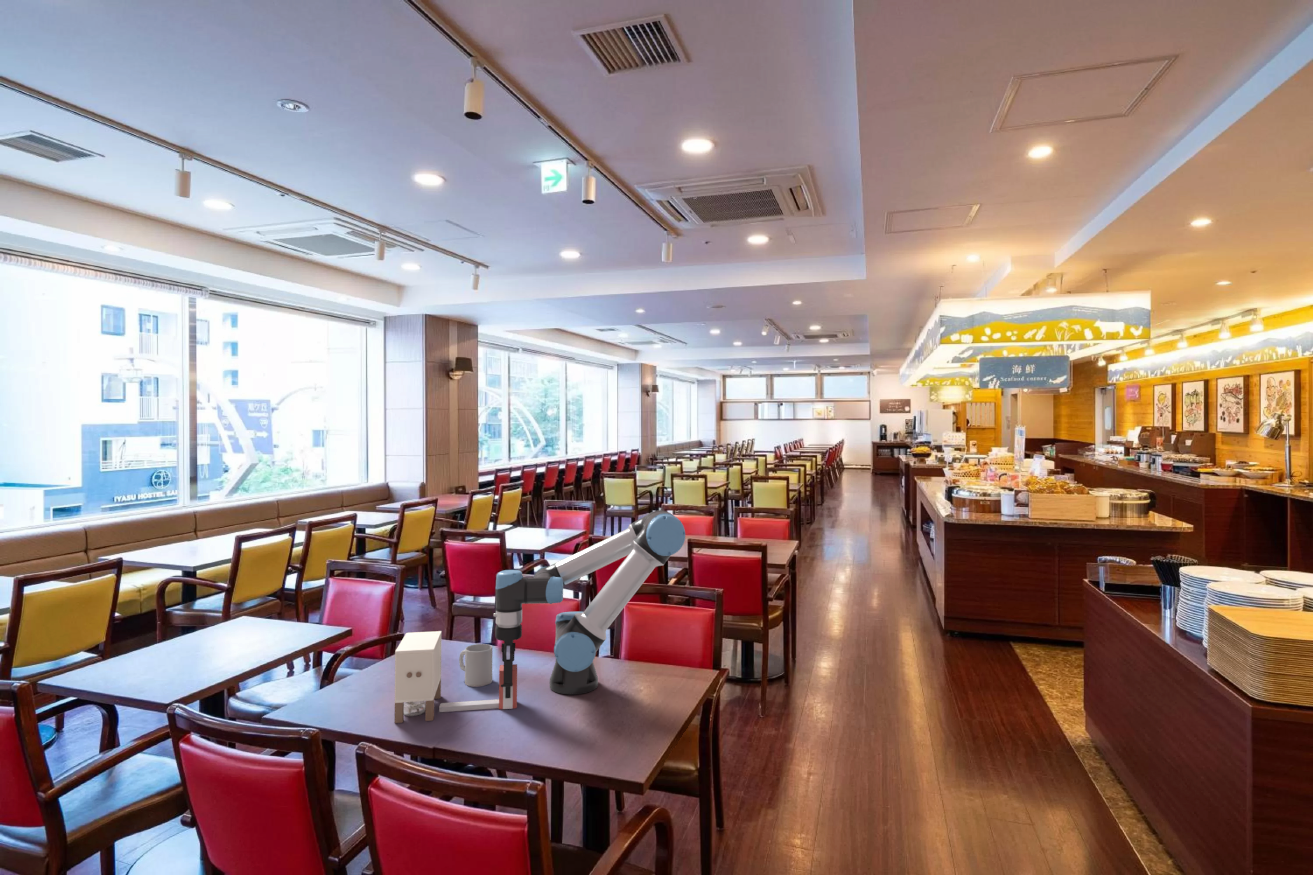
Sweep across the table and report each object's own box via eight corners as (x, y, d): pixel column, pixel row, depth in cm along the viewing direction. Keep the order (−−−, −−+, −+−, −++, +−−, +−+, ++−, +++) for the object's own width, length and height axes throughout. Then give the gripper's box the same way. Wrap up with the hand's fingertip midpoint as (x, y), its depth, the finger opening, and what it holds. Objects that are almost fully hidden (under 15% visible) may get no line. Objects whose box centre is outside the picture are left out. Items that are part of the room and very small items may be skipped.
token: (426, 707, 192) (426, 699, 192) (423, 716, 186) (423, 707, 186) (404, 709, 191) (404, 700, 191) (401, 717, 185) (401, 709, 185)
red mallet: (516, 701, 196) (517, 664, 197) (516, 707, 192) (517, 669, 192) (440, 706, 192) (441, 668, 192) (438, 713, 187) (439, 674, 187)
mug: (497, 679, 214) (498, 645, 214) (480, 688, 206) (480, 653, 207) (468, 674, 219) (469, 640, 219) (450, 682, 212) (450, 647, 212)
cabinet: (440, 695, 200) (441, 630, 200) (432, 722, 181) (433, 650, 182) (405, 698, 198) (406, 632, 199) (393, 725, 179) (394, 652, 180)
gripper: (496, 616, 202) (495, 693, 202) (494, 633, 184) (493, 717, 184) (521, 615, 203) (521, 692, 203) (521, 632, 186) (521, 715, 185)
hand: (508, 704), depth 194 cm, fingers closed on red mallet, 5 cm apart
